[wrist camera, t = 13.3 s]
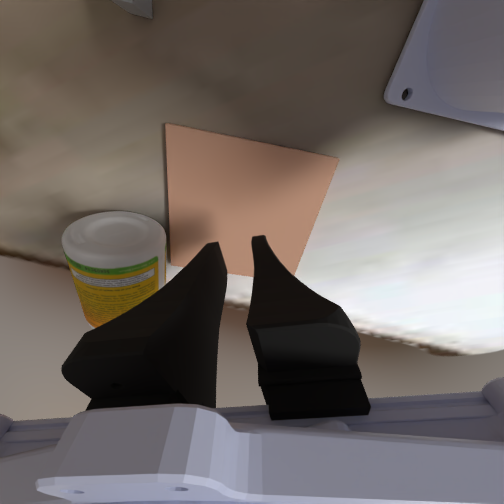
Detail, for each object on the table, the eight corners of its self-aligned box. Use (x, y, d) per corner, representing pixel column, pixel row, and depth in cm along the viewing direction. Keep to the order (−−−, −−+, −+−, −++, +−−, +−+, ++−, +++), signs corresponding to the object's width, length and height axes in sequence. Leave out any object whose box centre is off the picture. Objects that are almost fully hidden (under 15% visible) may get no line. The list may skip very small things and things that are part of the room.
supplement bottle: (29, 242, 11) (74, 349, 16) (139, 268, 11) (146, 365, 16) (102, 202, 15) (118, 297, 21) (179, 221, 15) (174, 310, 21)
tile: (337, 157, 13) (339, 159, 13) (290, 279, 19) (291, 282, 18) (167, 122, 12) (165, 123, 12) (172, 262, 18) (170, 265, 17)
